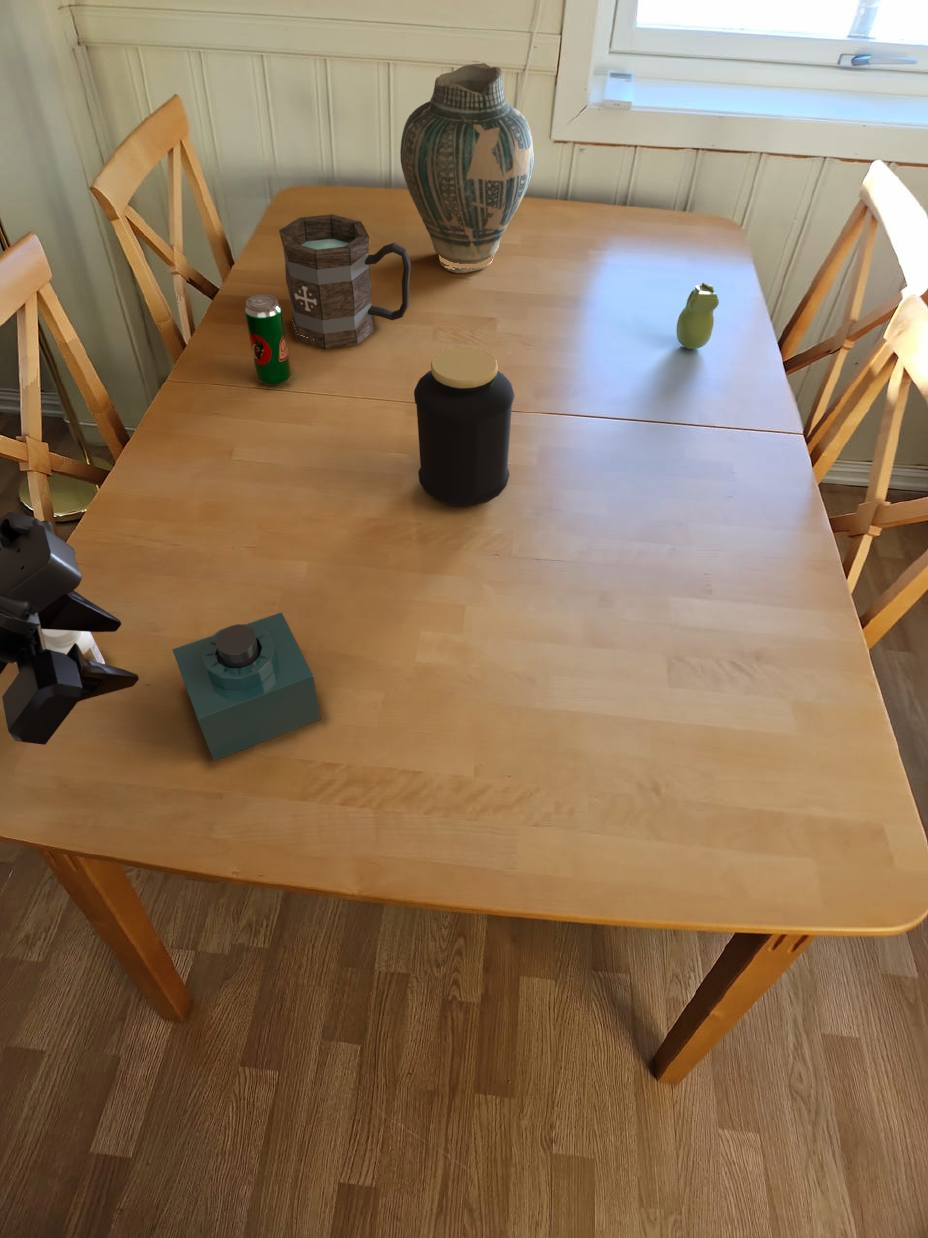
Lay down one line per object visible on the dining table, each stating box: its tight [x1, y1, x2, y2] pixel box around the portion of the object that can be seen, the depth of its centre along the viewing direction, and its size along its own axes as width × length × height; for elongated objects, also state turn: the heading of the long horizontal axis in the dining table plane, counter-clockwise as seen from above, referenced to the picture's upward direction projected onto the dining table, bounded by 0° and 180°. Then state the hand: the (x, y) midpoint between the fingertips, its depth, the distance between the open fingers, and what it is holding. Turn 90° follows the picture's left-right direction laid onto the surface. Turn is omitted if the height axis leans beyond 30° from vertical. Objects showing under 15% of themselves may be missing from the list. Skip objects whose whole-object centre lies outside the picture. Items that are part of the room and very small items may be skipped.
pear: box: [675, 282, 720, 350], centre depth 128 cm, size 6×5×10 cm
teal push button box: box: [172, 611, 322, 762], centre depth 80 cm, size 11×9×9 cm
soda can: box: [244, 294, 292, 387], centre depth 118 cm, size 5×5×12 cm
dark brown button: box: [216, 624, 259, 668], centre depth 76 cm, size 4×4×2 cm
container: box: [413, 345, 515, 508], centre depth 100 cm, size 12×12×18 cm
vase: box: [399, 62, 535, 274], centre depth 138 cm, size 22×22×30 cm
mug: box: [278, 213, 412, 350], centre depth 127 cm, size 20×14×15 cm
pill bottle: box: [42, 629, 106, 664], centre depth 83 cm, size 4×4×8 cm
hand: (127, 652), depth 70 cm, fingers open, 6 cm apart
